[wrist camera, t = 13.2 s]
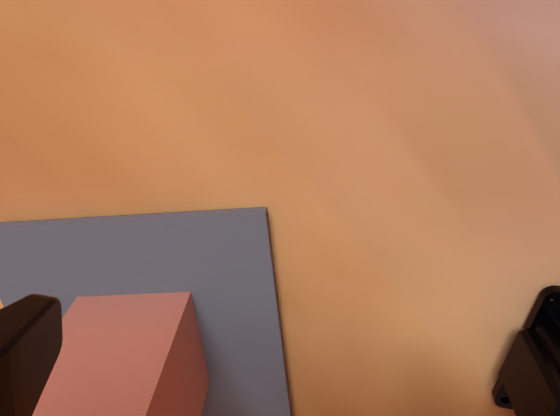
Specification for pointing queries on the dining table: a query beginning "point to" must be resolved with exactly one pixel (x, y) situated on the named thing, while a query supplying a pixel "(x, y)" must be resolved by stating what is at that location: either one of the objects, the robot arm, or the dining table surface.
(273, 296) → the slate mat
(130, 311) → the red block
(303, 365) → the dining table surface
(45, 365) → the robot arm
